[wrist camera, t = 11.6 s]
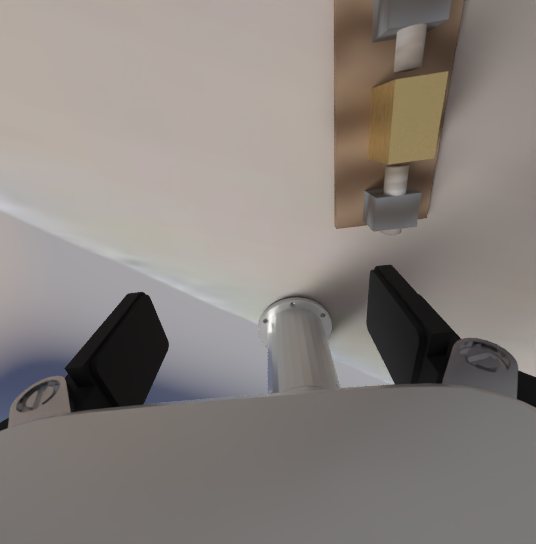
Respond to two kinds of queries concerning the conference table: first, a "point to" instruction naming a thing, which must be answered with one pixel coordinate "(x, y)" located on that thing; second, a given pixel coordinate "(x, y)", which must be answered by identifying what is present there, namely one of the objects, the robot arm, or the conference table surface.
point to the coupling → (406, 118)
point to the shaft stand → (357, 101)
